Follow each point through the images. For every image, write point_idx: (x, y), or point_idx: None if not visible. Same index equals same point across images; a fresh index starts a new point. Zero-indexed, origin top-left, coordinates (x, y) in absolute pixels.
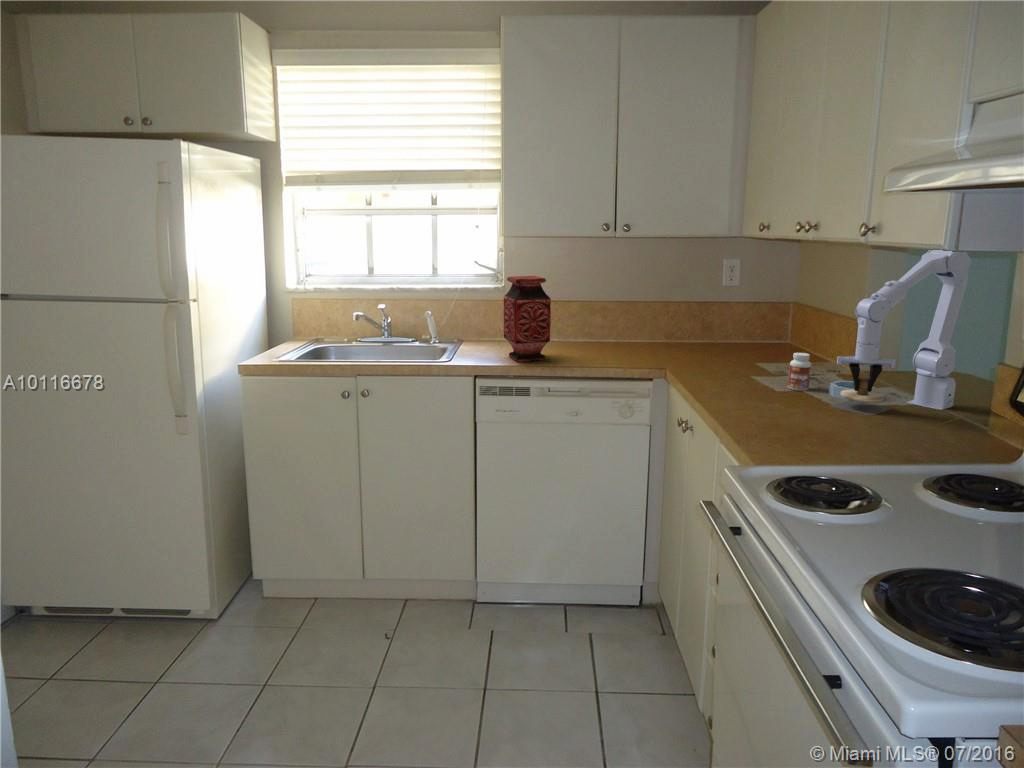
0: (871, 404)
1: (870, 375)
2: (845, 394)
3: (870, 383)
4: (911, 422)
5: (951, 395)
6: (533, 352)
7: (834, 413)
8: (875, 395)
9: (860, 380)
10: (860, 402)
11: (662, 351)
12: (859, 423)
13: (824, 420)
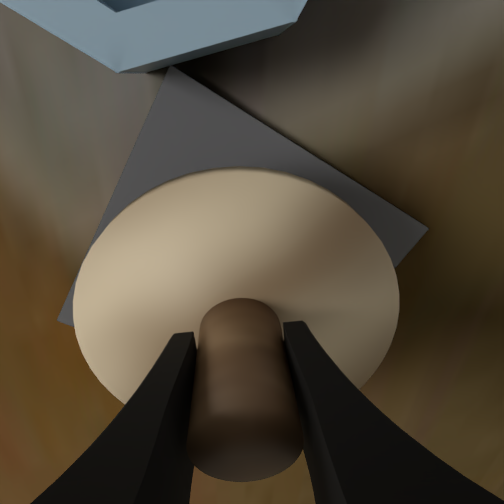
0: (313, 166)
1: (322, 488)
2: (123, 386)
3: (305, 451)
4: (442, 405)
5: None
6: None
7: (116, 402)
8: (335, 333)
9: (210, 470)
10: (239, 135)
11: None
12: (230, 484)
13: None
